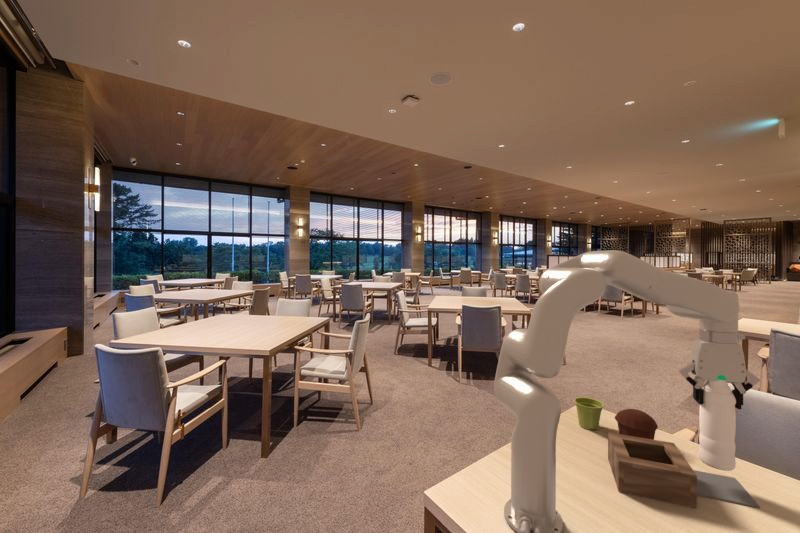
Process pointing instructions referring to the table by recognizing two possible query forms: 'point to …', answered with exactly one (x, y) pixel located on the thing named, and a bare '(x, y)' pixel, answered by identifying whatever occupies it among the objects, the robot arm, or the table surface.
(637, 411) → the muffin
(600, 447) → the table surface
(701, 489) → the mat
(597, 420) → the plant pot
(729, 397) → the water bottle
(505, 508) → the robot arm
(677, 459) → the slot box
